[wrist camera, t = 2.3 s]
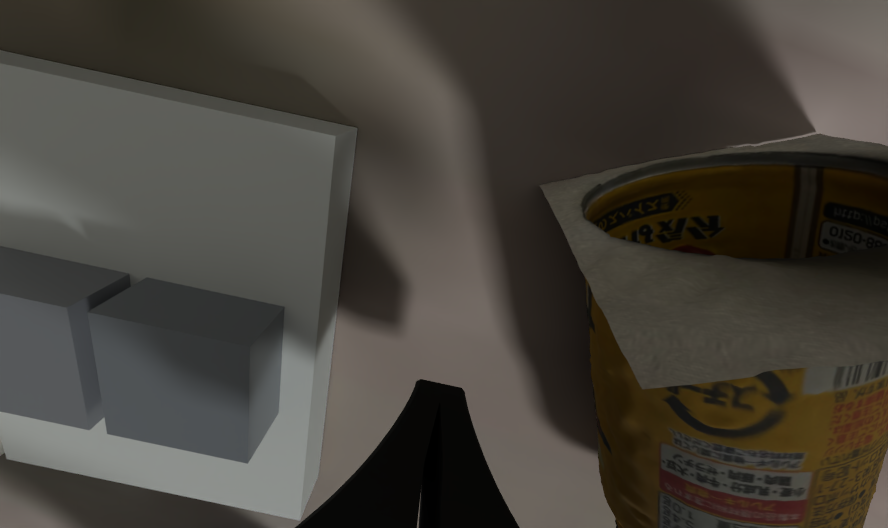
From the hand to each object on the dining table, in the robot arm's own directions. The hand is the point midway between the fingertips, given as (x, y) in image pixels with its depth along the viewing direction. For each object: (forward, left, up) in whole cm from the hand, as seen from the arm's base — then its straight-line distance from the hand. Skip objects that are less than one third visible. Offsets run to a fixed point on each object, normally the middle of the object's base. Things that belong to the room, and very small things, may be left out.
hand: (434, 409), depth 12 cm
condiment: (+8, -5, +2) cm, 10 cm away
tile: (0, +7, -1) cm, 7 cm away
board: (0, +9, -3) cm, 10 cm away
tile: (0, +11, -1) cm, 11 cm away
